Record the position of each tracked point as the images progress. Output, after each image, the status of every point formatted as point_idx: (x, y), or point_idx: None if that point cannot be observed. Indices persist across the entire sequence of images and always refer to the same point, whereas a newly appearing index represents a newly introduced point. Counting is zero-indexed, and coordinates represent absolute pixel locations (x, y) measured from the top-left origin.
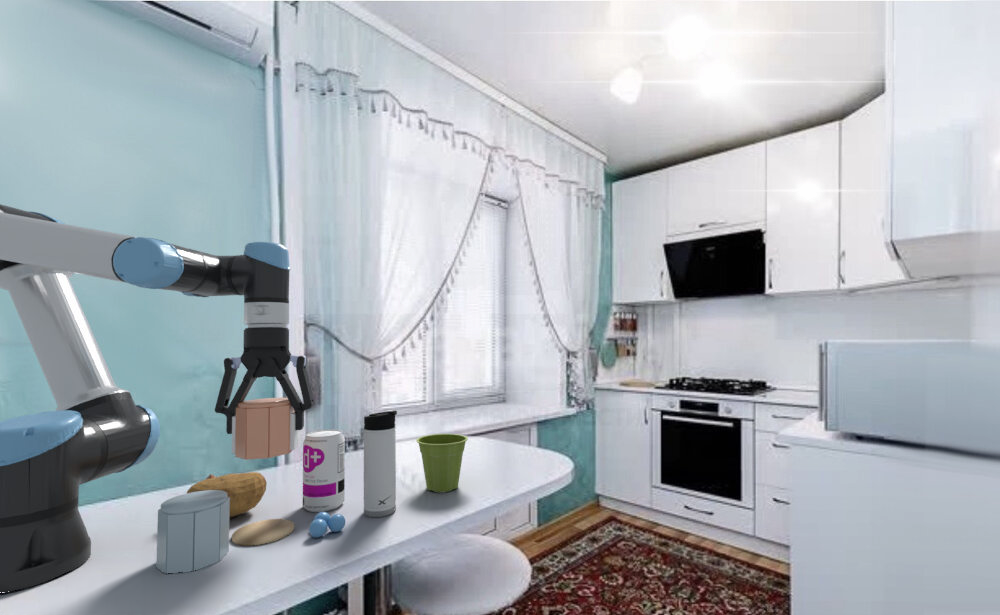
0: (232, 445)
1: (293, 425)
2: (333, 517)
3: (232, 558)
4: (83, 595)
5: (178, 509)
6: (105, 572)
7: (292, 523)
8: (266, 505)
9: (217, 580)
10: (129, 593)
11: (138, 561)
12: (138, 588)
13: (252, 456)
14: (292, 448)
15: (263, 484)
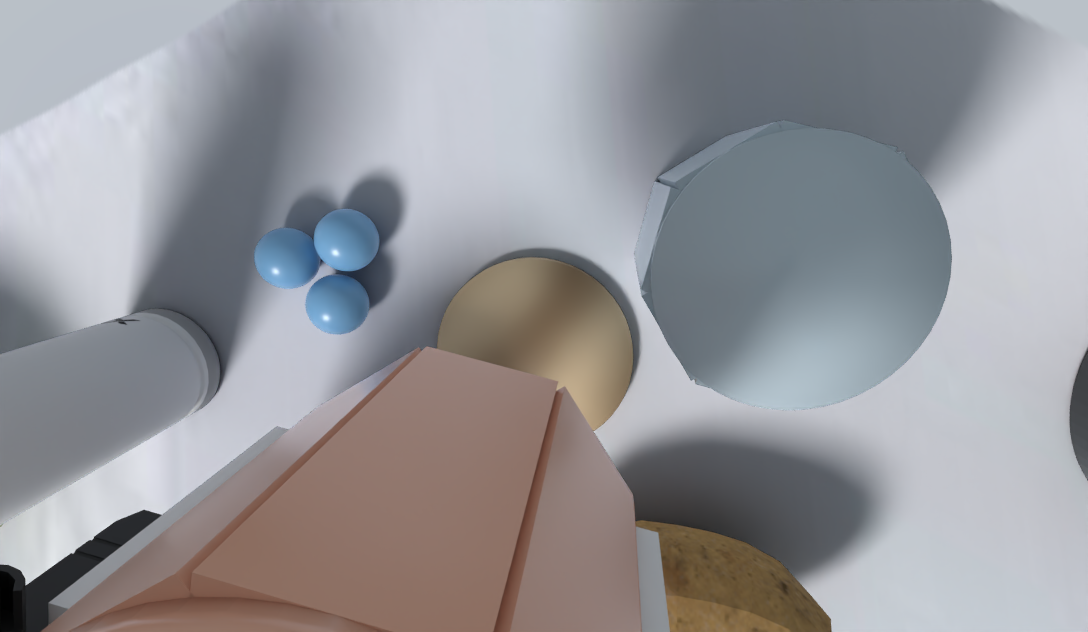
0: (658, 567)
1: (157, 525)
2: (283, 251)
3: (616, 186)
4: (1039, 105)
5: (861, 143)
6: (999, 263)
7: None
8: None
9: (646, 27)
10: (902, 53)
11: None
12: (880, 80)
13: (518, 377)
14: (281, 433)
15: None
